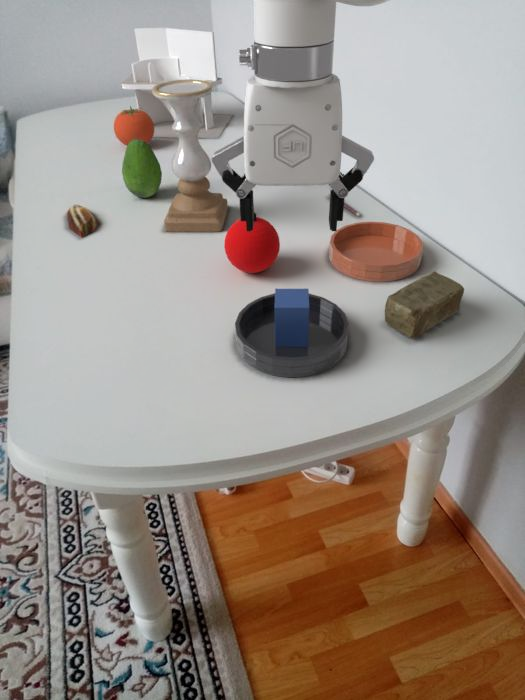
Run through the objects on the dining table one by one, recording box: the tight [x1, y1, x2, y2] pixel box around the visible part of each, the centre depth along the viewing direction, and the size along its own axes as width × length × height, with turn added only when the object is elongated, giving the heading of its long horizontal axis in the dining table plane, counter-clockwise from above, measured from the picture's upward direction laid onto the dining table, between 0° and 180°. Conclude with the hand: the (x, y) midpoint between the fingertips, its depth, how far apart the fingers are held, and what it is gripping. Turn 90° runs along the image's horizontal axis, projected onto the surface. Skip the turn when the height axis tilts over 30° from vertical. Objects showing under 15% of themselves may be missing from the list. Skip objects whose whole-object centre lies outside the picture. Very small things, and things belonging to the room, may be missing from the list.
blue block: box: [274, 288, 310, 347], centre depth 69 cm, size 4×4×6 cm
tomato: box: [113, 105, 154, 147], centre depth 133 cm, size 10×10×10 cm
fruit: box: [121, 139, 163, 199], centre depth 108 cm, size 8×8×12 cm
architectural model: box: [121, 27, 233, 139], centre depth 142 cm, size 28×21×23 cm
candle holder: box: [152, 80, 229, 233], centre depth 94 cm, size 11×11×24 cm
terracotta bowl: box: [328, 221, 424, 283], centre depth 88 cm, size 15×15×3 cm
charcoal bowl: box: [234, 292, 350, 378], centre depth 71 cm, size 15×15×3 cm
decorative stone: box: [66, 203, 99, 239], centre depth 102 cm, size 14×6×2 cm, turn 32°
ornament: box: [224, 211, 281, 274], centre depth 84 cm, size 9×9×10 cm
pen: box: [328, 193, 361, 217], centre depth 104 cm, size 11×1×1 cm, turn 27°
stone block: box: [384, 271, 465, 340], centre depth 73 cm, size 6×12×5 cm, turn 129°
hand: (291, 226), depth 61 cm, fingers open, 9 cm apart
